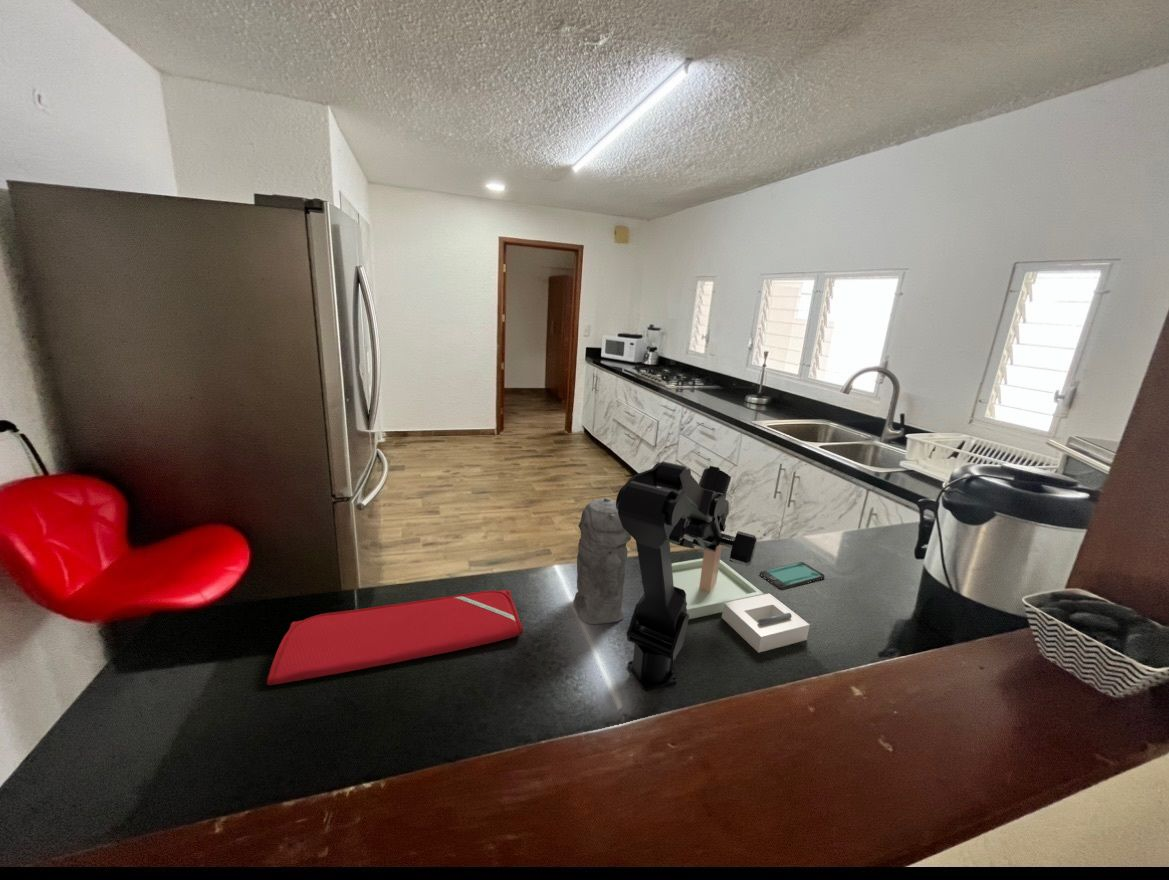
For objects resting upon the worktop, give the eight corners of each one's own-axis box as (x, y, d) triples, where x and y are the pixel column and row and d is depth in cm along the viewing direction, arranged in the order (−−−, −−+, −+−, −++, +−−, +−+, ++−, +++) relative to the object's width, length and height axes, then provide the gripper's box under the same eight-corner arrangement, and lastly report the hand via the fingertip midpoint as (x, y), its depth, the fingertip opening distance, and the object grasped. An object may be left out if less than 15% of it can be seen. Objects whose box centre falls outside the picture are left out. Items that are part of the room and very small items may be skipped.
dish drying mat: (293, 628, 87) (290, 611, 86) (509, 597, 100) (509, 582, 99) (267, 691, 73) (264, 671, 72) (523, 645, 86) (524, 628, 85)
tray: (685, 620, 95) (686, 609, 94) (645, 576, 110) (646, 567, 109) (761, 603, 102) (763, 593, 101) (714, 564, 117) (716, 556, 117)
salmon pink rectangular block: (709, 592, 103) (716, 548, 101) (699, 588, 105) (704, 544, 102) (716, 582, 108) (722, 539, 105) (706, 578, 109) (711, 536, 106)
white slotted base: (758, 652, 86) (762, 632, 85) (721, 617, 96) (724, 598, 95) (806, 639, 91) (810, 620, 90) (766, 607, 101) (770, 589, 100)
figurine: (608, 587, 105) (616, 484, 99) (630, 626, 92) (641, 511, 85) (567, 591, 102) (572, 486, 96) (583, 633, 89) (591, 514, 83)
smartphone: (758, 571, 114) (802, 560, 120) (758, 575, 114) (801, 565, 120) (782, 587, 107) (826, 575, 114) (781, 591, 108) (825, 579, 114)
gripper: (762, 501, 91) (764, 532, 103) (673, 480, 101) (685, 510, 113) (747, 552, 87) (751, 578, 99) (656, 525, 96) (670, 552, 108)
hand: (713, 552), depth 105 cm, fingers open, 9 cm apart
